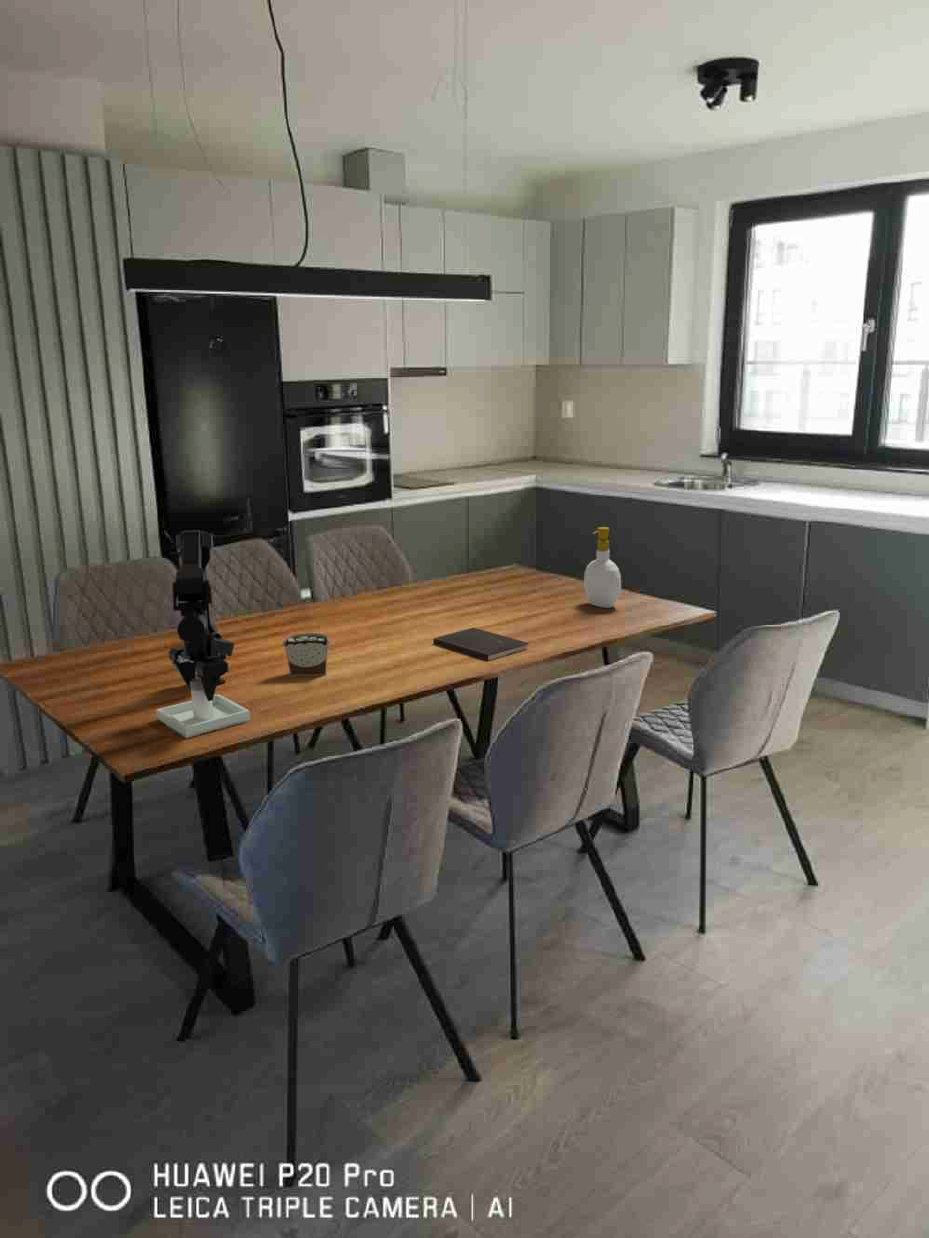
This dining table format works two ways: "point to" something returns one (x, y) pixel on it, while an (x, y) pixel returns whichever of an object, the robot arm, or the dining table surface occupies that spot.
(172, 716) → the tray
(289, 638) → the food container
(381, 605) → the dining table surface
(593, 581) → the soap bottle
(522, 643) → the hardcover book
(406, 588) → the dining table surface
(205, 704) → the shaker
